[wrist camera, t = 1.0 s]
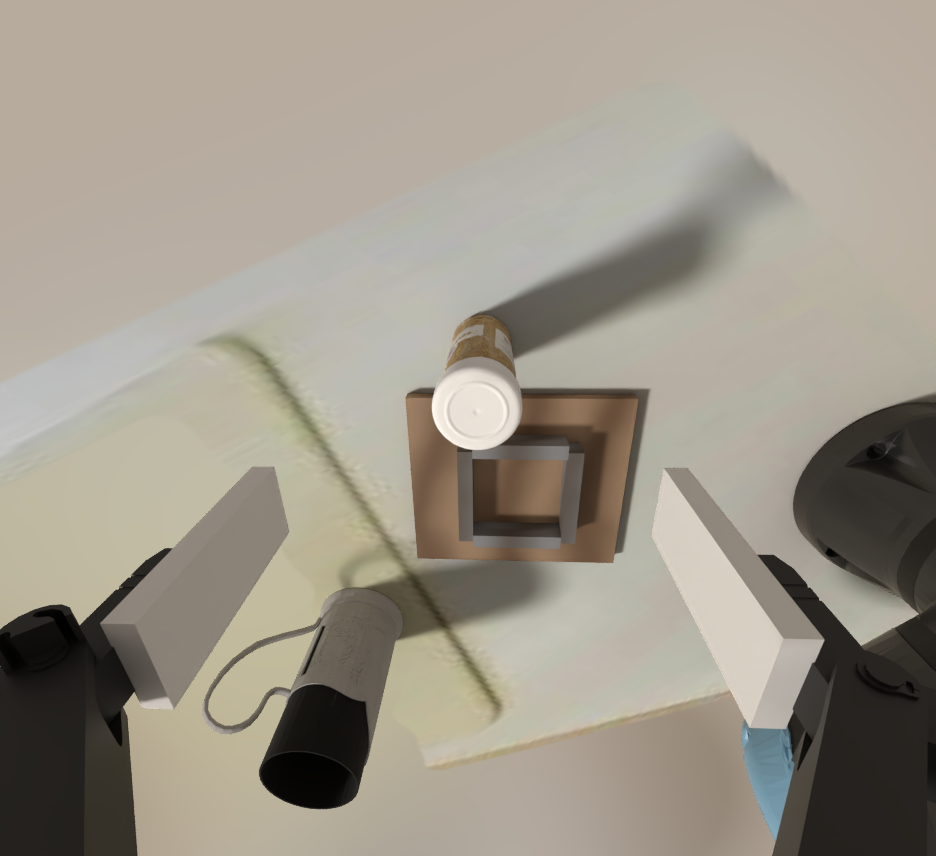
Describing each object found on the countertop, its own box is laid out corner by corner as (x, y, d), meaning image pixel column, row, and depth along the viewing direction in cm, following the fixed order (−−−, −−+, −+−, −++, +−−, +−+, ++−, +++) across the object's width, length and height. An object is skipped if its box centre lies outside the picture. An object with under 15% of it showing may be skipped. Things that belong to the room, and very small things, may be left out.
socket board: (634, 394, 35) (646, 408, 32) (610, 555, 42) (618, 578, 39) (407, 393, 36) (400, 407, 33) (419, 551, 43) (414, 573, 40)
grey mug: (384, 659, 49) (343, 825, 36) (260, 611, 47) (167, 769, 34) (416, 608, 46) (384, 770, 32) (285, 554, 44) (191, 704, 30)
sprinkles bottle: (454, 311, 33) (432, 363, 21) (515, 316, 33) (528, 371, 21) (450, 370, 35) (428, 449, 23) (508, 375, 35) (517, 456, 23)
